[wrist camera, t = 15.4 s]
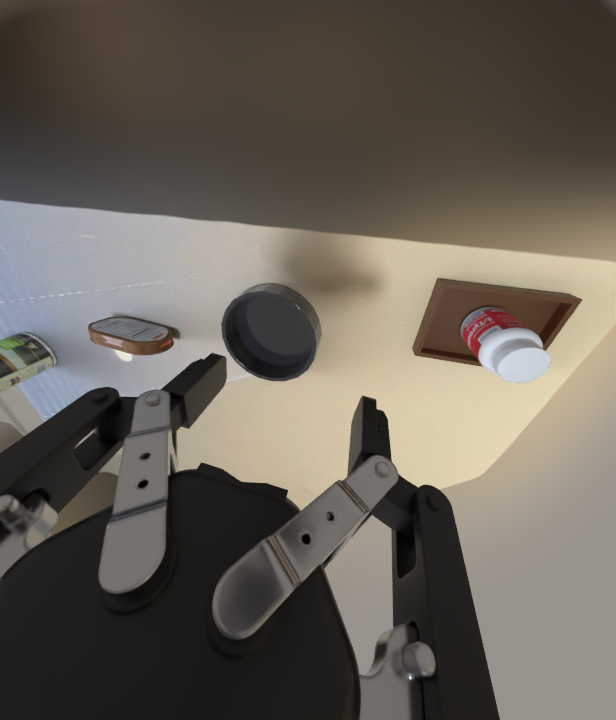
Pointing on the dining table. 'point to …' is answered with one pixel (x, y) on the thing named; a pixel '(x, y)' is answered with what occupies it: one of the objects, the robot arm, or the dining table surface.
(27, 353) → the coffee can
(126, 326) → the tin
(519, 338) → the pill bottle
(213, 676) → the robot arm
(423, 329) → the tray
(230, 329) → the bowl
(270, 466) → the dining table surface
